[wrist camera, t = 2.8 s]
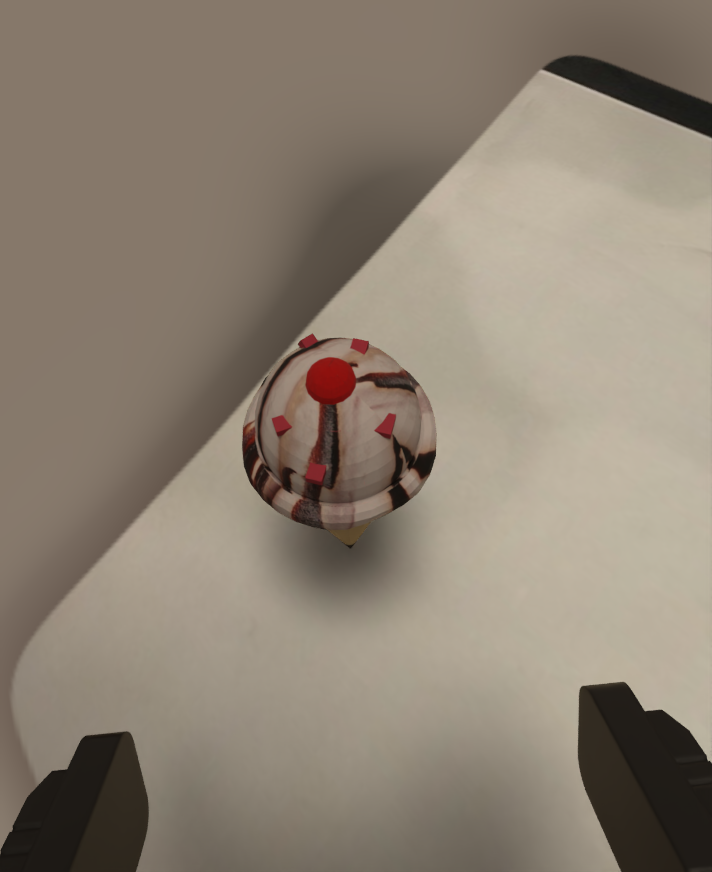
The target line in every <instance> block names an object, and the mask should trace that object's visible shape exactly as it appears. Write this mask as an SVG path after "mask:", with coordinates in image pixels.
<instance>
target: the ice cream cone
mask: <svg viewBox="0 0 712 872" xmlns="http://www.w3.org/2000/svg"><path fill="white" fill-rule="evenodd" d="M298 345H299V346H300V347H299V348H298V349H296V350H294V351H293V352H291V353H289V354H288V355H287V356H285V357H284V358H283V359H281V360H280V361H279V362H278V363H277V364H276V365H275V366H274V367H273V369H272V370H271V372H270V373H269V375H268V376H267V377H266V378H265V380H264V381H263V383H262V385H261V387H260V388H259V390H258V391H257V393H256V395H255V396H254V398H253V400H252V402H251V404H250V406H249V408H248V410H247V413H246V417H245V421H244V425H243V442H242V450H243V461H244V468H245V470H246V473H247V476H248V478H249V481H250V483H251V485H252V486H253V487H254V489H255V490H256V491H257V492H258V494H259V495H260V496H261V498H262V499H263V500H264V501H265V502H266V503H268V504H269V505H270V506H271V507H273V508H274V509H275V510H276V511H277V512H279V513H280V514H282V515H284V516H286V517H288V518H290V519H292V520H294V521H296V522H299V523H302V524H305V525H308V526H312V527H316V528H321V529H326V530H328V531H330V532H331V533H332V534H333V535H334V536H336V537H337V538H338V539H339V540H341V541H342V542H343V543H344V544H345V545H347V546H348V547H349V548H352V546H353V545H354V544H355V543H356V541H357V540H358V539H359V537H360V536H361V535H362V533H363V532H364V531H365V529H366V528H367V527H368V525H369V524H370V523H371V521H373V520H376V519H378V518H380V517H382V516H384V515H386V514H389V513H390V512H392V511H393V510H395V509H397V508H399V507H400V506H402V505H404V504H405V503H406V502H408V501H409V500H410V499H411V498H413V497H414V496H415V495H416V494H417V493H418V492H419V491H420V490H421V488H422V486H423V485H424V483H425V481H426V480H427V478H428V477H429V475H430V473H431V470H432V467H433V463H434V460H435V457H436V436H437V433H436V425H435V417H434V414H433V411H432V407H431V404H430V401H429V399H428V398H427V396H426V394H425V392H424V391H423V389H422V387H421V386H420V385H419V383H418V382H417V381H416V380H415V379H414V378H413V377H412V376H411V374H410V373H408V372H407V371H406V370H404V369H403V368H402V367H400V365H399V364H398V363H397V362H396V361H395V360H394V359H392V358H391V357H390V356H388V355H387V354H386V353H384V352H383V351H381V350H380V349H378V348H376V347H374V346H372V345H370V344H369V341H364V340H359V339H355V338H353V339H347V338H327V339H322V340H317V339H316V338H315V336H314V335H313V334H311V335H309V336H308V337H306V338H304V339H302V340H301V341H300V342H299V343H298Z"/></svg>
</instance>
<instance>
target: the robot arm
mask: <svg viewBox="0 0 712 872" xmlns="http://www.w3.org/2000/svg"><path fill="white" fill-rule="evenodd" d="M578 760H579V767H580V772H581V777H582V781H583V784H584V787H585V790H586V793H587V795H588V797H589V800H590V802H591V804H592V806H593V809H594V811H595V813H596V815H597V818H598V820H599V822H600V824H601V827H602V829H603V831H604V833H605V836H606V838H607V840H608V843H609V845H610V847H611V849H612V852H613V854H614V856H615V858H616V861H617V863H618V865H619V867H620V870H621V872H712V763H711V762H710V761H708V760H707V756H706V754H705V753H704V751H703V750H702V749H701V747H700V746H699V744H698V743H697V741H696V740H695V738H694V737H693V736H692V734H691V733H690V731H689V730H688V729H687V728H685V727H684V726H683V725H681V724H680V723H679V722H677V721H676V720H675V719H673V718H672V717H671V716H670V715H668V714H667V713H666V712H664V711H663V710H654V711H644V709H643V708H642V706H641V705H640V703H639V701H638V700H637V698H636V697H635V695H634V693H633V692H632V690H631V689H630V687H629V686H628V685H627V684H626V683H625V682H617V683H607V684H598V685H588V686H582V687H581V689H580V692H579V726H578ZM148 817H149V806H148V797H147V793H146V789H145V785H144V781H143V776H142V772H141V768H140V764H139V760H138V756H137V752H136V748H135V744H134V740H133V737H132V735H131V734H130V733H129V732H127V731H126V732H117V733H107V734H97V735H87V736H85V737H83V738H82V740H81V741H80V743H79V745H78V747H77V749H76V751H75V754H74V756H73V758H72V760H71V762H70V764H69V767H68V769H67V770H57V771H52V772H51V773H50V774H49V775H48V776H47V777H46V778H45V779H44V780H43V781H42V782H41V783H40V784H39V785H38V786H37V787H36V789H35V790H34V791H33V792H32V793H31V794H30V795H29V796H28V797H27V799H26V801H25V803H24V805H23V807H22V809H21V811H20V813H19V815H18V817H17V819H16V821H15V823H14V825H13V830H12V832H10V833H9V835H8V836H7V839H6V840H5V843H4V844H3V847H2V848H1V854H0V872H136V870H137V866H138V863H139V859H140V856H141V852H142V849H143V845H144V842H145V838H146V834H147V828H148Z"/></svg>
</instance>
